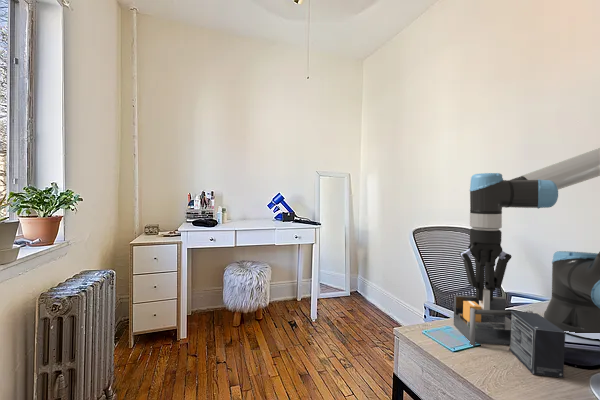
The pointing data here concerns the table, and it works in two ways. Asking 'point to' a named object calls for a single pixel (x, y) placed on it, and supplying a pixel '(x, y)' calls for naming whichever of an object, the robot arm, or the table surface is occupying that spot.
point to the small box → (537, 344)
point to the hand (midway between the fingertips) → (484, 311)
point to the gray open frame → (484, 312)
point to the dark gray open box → (484, 322)
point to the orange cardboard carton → (466, 310)
